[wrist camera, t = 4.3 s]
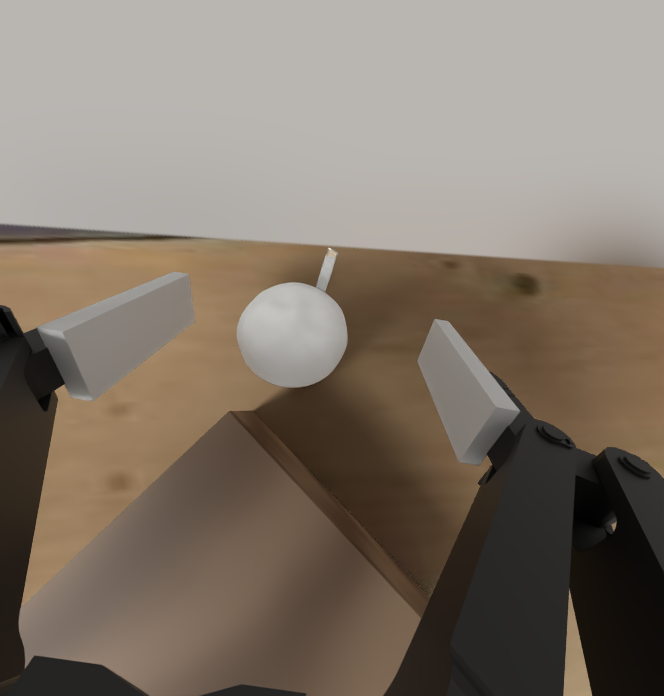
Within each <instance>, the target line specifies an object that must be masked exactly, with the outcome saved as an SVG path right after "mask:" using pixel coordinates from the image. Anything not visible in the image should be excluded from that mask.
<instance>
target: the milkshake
mask: <svg viewBox="0 0 664 696" xmlns="http://www.w3.org/2000/svg"><path fill="white" fill-rule="evenodd" d="M337 255H338V252H336V251H334V250H333V249H331V248H327V250H326V254H325V257H324V261H323V264H322V268H321V271H320V275H319V278H318V282H317V285H316V288H315V287H313V286H310V285H307V284H303V283H296V282H290V283H284V284H279V285H276V286H273V287H270V288H268V289H266V290H264V291H262V292H261V293H260V294H258V295H257V296H256V297H255V298H254V299H253V300H252V301H251V303H250V304H249V305H248V306H247V307H246V309H245V310H244V312H243V313H242V315H241V317H240V320H239V323H238V327H237V342H238V346H239V349H240V352H241V354H242V356H243V359H244V361H245V363H246V364H247V366H248V367H249V368H250V370H251V371H252V372H253V373H255V374H256V375H257V376H258V377H260V378H261V379H263V380H265V381H267V382H269V383H271V384H274V385H277V386H281V387H288V388H296V387H303V388H304V387H306V386H308V385H312V384H314V383H317V382H319V381H320V380H322V379H324V378H325V377H327V376H328V375H329V374H330V373H331V372H332V371H333V370H334V369H335V367H336V366H337V365H338V363H339V362H340V360H341V358H342V356H343V354H344V352H345V349H346V346H347V327H346V321H345V318H344V314H343V312H342V310H341V308H340V307H339V305H338V304H337V303H336V302H335V301H334V300H333V299H332V298H331V297H330V296H329V295H327V294H326V293H325V292H326V289H327V286H328V283H329V280H330V277H331V274H332V271H333V268H334V265H335V262H336V259H337Z"/></svg>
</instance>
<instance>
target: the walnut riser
mask: <svg viewBox="0 0 664 696" xmlns="http://www.w3.org/2000/svg"><path fill="white" fill-rule="evenodd" d="M429 600H430V598H429V597H428V595H427V594H426V593H425V592H424V591H423V590H422V589H421V588H420V587H419V586H418V585H417V584H416V583H415V582H414V581H413V580H412V579H411V578H410V576H409V575H408V574H407V573H406V572H405V571H404V570H403V569H402V568H401V567H400V566H399V565H398V564H397V563H396V562H395V561H394V560H393V558H392V557H391V556H390V555H389V554H388V553H387V552H386V551H385V550H384V549H383V548H382V547H381V546H380V545H379V544H378V543H377V542H376V540H375V539H374V538H373V537H372V536H371V535H370V534H369V533H368V532H367V531H366V530H365V529H364V528H363V527H362V526H361V525H360V524H359V523H358V521H357V520H356V519H355V518H354V517H353V516H352V515H351V514H350V513H349V512H348V511H347V510H346V509H345V508H344V507H343V506H342V505H341V503H340V502H339V501H338V500H337V499H336V498H335V497H334V496H333V495H332V494H331V493H330V492H329V491H328V490H327V489H326V488H325V487H324V486H323V484H322V483H321V482H320V481H319V480H318V479H317V478H316V477H315V476H314V475H313V474H312V473H311V472H310V471H309V470H308V469H307V468H306V466H305V465H304V464H303V463H302V462H301V461H300V460H299V459H298V458H297V457H296V456H295V455H294V454H293V453H292V452H291V451H290V450H289V449H288V447H287V446H286V445H285V444H284V443H283V442H282V441H281V440H280V439H279V438H278V437H277V436H276V435H275V434H274V433H273V432H272V431H271V429H270V428H269V427H268V426H267V425H266V424H265V423H264V422H263V421H262V420H261V419H260V418H259V417H258V416H257V415H256V414H255V413H254V412H253V411H229V412H228V413H227V414H225V415H224V416H223V417H222V418H221V419H220V420H219V421H218V422H217V423H216V424H215V425H214V426H213V427H212V428H211V429H210V430H209V431H208V432H206V433H205V434H204V435H203V436H202V437H201V438H200V439H199V440H198V441H197V442H196V443H195V444H194V445H193V446H192V447H191V448H190V449H188V450H187V451H186V452H185V453H184V454H183V455H182V456H181V457H180V458H179V459H178V460H177V461H176V462H175V463H174V464H173V465H172V466H170V467H169V468H168V469H167V470H166V471H165V472H164V473H163V474H162V475H161V476H160V477H159V478H158V479H157V480H156V481H155V482H154V483H152V484H151V485H150V486H149V487H148V488H147V489H146V490H145V491H144V492H143V493H142V494H141V495H140V496H139V497H138V498H137V499H136V500H134V501H133V502H132V503H131V504H130V505H129V506H128V507H127V508H126V509H125V510H124V511H123V512H122V513H121V514H120V515H119V516H118V517H116V518H115V519H114V520H113V521H112V522H111V523H110V524H109V525H108V526H107V527H106V528H105V529H104V530H103V531H102V532H101V533H100V534H98V535H97V536H96V537H95V538H94V539H93V540H92V541H91V542H90V543H89V544H88V545H87V546H86V547H85V548H84V549H83V550H82V551H80V552H79V553H78V554H77V555H76V556H75V557H74V558H73V559H72V560H71V561H70V562H69V563H68V564H67V565H66V566H65V567H64V568H62V569H61V570H60V571H59V572H58V573H57V574H56V575H55V576H54V577H53V578H52V579H51V580H50V581H49V582H48V583H47V584H46V585H44V586H43V587H42V588H41V589H40V590H39V591H38V592H37V593H36V594H35V595H34V596H33V597H32V598H31V599H30V600H29V601H28V602H26V603H25V604H24V605H23V606H22V607H21V608H20V614H19V632H20V636H21V639H22V642H23V645H24V651H25V668H26V667H27V665H28V664H29V662H30V661H31V659H32V658H33V657H34V655H36V656H43V657H50V658H58V659H65V660H72V661H79V662H86V663H93V664H100V665H104V666H105V667H107V668H108V669H110V670H111V671H113V672H114V673H116V674H118V675H119V676H121V677H122V678H124V679H125V680H127V681H128V682H130V683H132V684H133V685H135V686H136V687H138V688H139V689H141V690H142V691H144V692H145V693H147V694H148V695H149V696H200V695H204V694H208V693H211V692H215V691H218V690H222V689H225V688H229V687H233V686H236V685H240V684H244V685H251V686H258V687H265V688H272V689H279V690H287V691H294V692H301V693H306V696H383V695H384V694H385V692H386V691H387V689H388V688H389V686H390V685H391V683H392V681H393V679H394V678H395V676H396V674H397V672H398V670H399V667H400V665H401V663H402V661H403V658H404V656H405V654H406V652H407V649H408V647H409V645H410V643H411V641H412V638H413V636H414V634H415V632H416V629H417V627H418V625H419V623H420V620H421V618H422V616H423V614H424V611H425V609H426V607H427V605H428V603H429Z"/></svg>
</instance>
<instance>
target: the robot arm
mask: <svg viewBox="0 0 664 696" xmlns="http://www.w3.org/2000/svg"><path fill="white" fill-rule="evenodd" d="M194 322H195V317H194V309H193V301H192V294H191V286H190V278H189V274H185V273H180V272H172V273H169V274H167V275H164V276H162V277H159V278H157V279H154V280H152V281H150V282H147V283H145V284H142V285H140V286H137V287H135V288H132V289H130V290H127V291H125V292H122V293H120V294H117V295H115V296H112V297H110V298H107V299H105V300H102V301H100V302H98V303H95V304H93V305H90V306H88V307H85V308H83V309H80V310H78V311H75V312H73V313H70V314H68V315H65V316H63V317H60V318H58V319H55V320H53V321H50V322H48V323H46V324H43V325H41V326H38V327H36V329H33V330H31V331H28V332H26V333H23V332H22V330H21V328H20V326H19V324H18V322H17V320H16V318H15V317H14V315H13V313H12V311H11V309H10V308H8V307H6V306H2V305H0V696H149V695H148V694H147V693H145V692H144V691H142V690H141V689H139V688H138V687H136V686H135V685H133V684H132V683H130V682H128V681H127V680H125V679H124V678H122V677H121V676H119V675H118V674H116V673H114V672H113V671H111V670H110V669H108V668H107V667H105V666H104V665H100V664H93V663H86V662H79V661H72V660H65V659H58V658H50V657H43V656H36V655H34V657H33V658H32V659H31V661H30V662H29V664H28V665H27V667H26V668H25V651H24V645H23V642H22V639H21V636H20V632H19V614H20V608H21V603H22V597H23V592H24V586H25V581H26V575H27V569H28V564H29V558H30V553H31V547H32V542H33V536H34V530H35V525H36V519H37V514H38V508H39V502H40V497H41V491H42V486H43V480H44V475H45V469H46V463H47V458H48V452H49V447H50V441H51V436H52V430H53V424H54V419H55V413H56V408H57V402H58V398H57V395H56V393H55V391H54V390H56V389H57V388H59V387H60V386H62V385H64V384H65V386H66V388H67V390H68V392H69V394H70V396H71V398H77V399H83V400H89V401H94V400H95V399H97V398H98V397H99V396H100V395H102V394H103V393H104V392H106V391H107V390H108V389H109V388H111V387H112V386H113V385H115V384H116V383H117V382H118V381H120V380H121V379H122V378H124V377H125V376H126V375H127V374H129V373H130V372H131V371H133V370H134V369H135V368H136V367H138V366H139V365H140V364H142V363H143V362H144V361H145V360H147V359H148V358H149V357H151V356H152V355H153V354H154V353H156V352H157V351H158V350H160V349H161V348H162V347H163V346H165V345H166V344H167V343H169V342H170V341H171V340H172V339H174V338H175V337H176V336H177V335H179V334H180V333H181V332H183V331H184V330H185V329H186V328H188V327H189V326H190V325H192V324H193V323H194ZM417 362H418V364H419V367H420V369H421V372H422V374H423V376H424V379H425V381H426V384H427V386H428V389H429V391H430V394H431V396H432V398H433V401H434V403H435V406H436V408H437V411H438V413H439V416H440V418H441V421H442V423H443V425H444V428H445V430H446V433H447V435H448V438H449V440H450V443H451V445H452V448H453V450H454V452H455V455H456V457H457V460H458V462H461V463H467V464H473V465H480V463H481V462H482V461H483V459H484V458H485V457H486V455H488V457H489V459H490V461H491V462H492V466H491V467H490V468H489V469H488V471H487V472H486V473H485V474H484V476H483V477H482V478H481V479H480V481H479V482H478V484H479V485H481V486H480V488H479V491H478V493H477V495H476V497H475V500H474V502H473V504H472V506H471V509H470V511H469V513H468V515H467V518H466V520H465V522H464V524H463V526H462V529H461V531H460V533H459V535H458V538H457V540H456V542H455V544H454V547H453V549H452V551H451V553H450V556H449V558H448V560H447V562H446V565H445V567H444V569H443V571H442V573H441V576H440V578H439V580H438V582H437V585H436V587H435V589H434V591H433V594H432V596H431V598H430V600H429V603H428V605H427V607H426V609H425V611H424V614H423V616H422V618H421V620H420V623H419V625H418V627H417V629H416V632H415V634H414V636H413V638H412V641H411V643H410V645H409V647H408V649H407V652H406V654H405V656H404V658H403V661H402V663H401V665H400V667H399V670H398V672H397V674H396V676H395V678H394V679H393V681H392V683H391V685H390V686H389V688H388V689H387V691H386V692H385V694H384V695H383V696H563V689H564V671H565V653H566V635H567V617H568V599H569V588H570V593H571V598H572V602H573V607H574V612H575V616H576V621H577V626H578V630H579V635H580V640H581V644H582V649H583V654H584V659H585V663H586V668H587V673H588V677H589V682H590V687H591V691H592V696H664V479H663V478H662V476H661V475H660V474H659V473H658V472H657V471H656V470H655V469H653V468H652V467H651V466H650V465H649V464H648V463H647V462H645V461H644V460H641V458H639V457H637V456H636V455H633V454H630V453H628V452H626V451H624V450H621V449H618V448H615V447H607V448H606V449H604V450H603V451H602V452H601V453H600V454H599V455H598V456H595V455H593V454H590V453H588V452H585V451H582V450H580V449H577V448H576V446H575V444H574V443H573V441H572V440H571V439H570V438H569V437H568V436H567V435H566V434H565V433H563V432H562V431H561V430H559V429H558V428H556V427H554V426H553V425H551V424H548V423H546V422H544V421H540V420H536V419H534V418H533V417H532V416H531V414H530V413H529V412H528V411H527V410H526V408H525V407H524V406H523V405H522V404H521V402H520V401H519V400H518V399H517V398H516V397H515V395H514V394H513V393H512V392H511V390H509V388H508V387H507V386H506V384H505V383H504V382H503V381H502V380H501V379H500V378H498V377H497V376H496V375H494V374H493V373H492V372H489V371H488V370H487V369H486V368H485V366H484V365H483V364H482V363H481V361H480V360H479V359H478V358H477V356H476V355H475V354H474V353H473V351H472V350H471V349H470V348H469V346H468V345H467V344H466V343H465V341H464V340H463V339H462V338H461V336H460V335H459V334H458V333H457V331H456V330H455V329H454V328H453V326H452V325H451V324H450V323H449V321H444V320H439V319H434V321H433V324H432V326H431V329H430V331H429V334H428V336H427V338H426V341H425V343H424V346H423V348H422V351H421V353H420V355H419V358H418V360H417ZM616 521H617V524H616V528H615V531H613V529H612V526H611V525H612V524H613V523H615V522H616ZM200 696H306V693H301V692H294V691H287V690H279V689H272V688H265V687H258V686H251V685H244V684H240V685H236V686H233V687H229V688H225V689H222V690H218V691H215V692H211V693H208V694H204V695H200Z"/></svg>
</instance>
